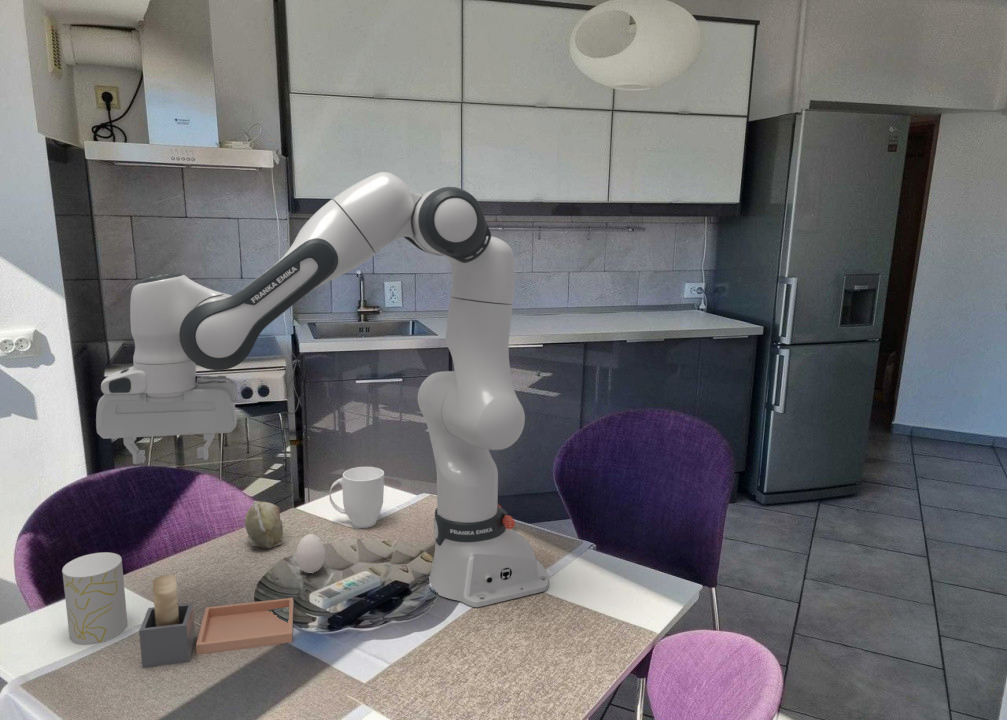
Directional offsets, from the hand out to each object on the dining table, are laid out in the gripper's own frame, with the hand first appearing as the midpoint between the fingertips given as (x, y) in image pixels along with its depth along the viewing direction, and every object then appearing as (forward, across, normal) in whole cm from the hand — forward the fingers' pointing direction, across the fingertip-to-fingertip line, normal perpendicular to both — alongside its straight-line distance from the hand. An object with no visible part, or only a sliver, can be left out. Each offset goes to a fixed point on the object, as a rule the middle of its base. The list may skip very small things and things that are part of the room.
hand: (171, 460), depth 115 cm
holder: (+27, 0, +12) cm, 30 cm away
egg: (+27, -21, -10) cm, 36 cm away
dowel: (+27, 0, +12) cm, 29 cm away
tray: (+27, -11, +8) cm, 30 cm away
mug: (+27, -31, -30) cm, 51 cm away
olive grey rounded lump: (+27, -12, -25) cm, 39 cm away
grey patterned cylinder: (+28, +12, +3) cm, 30 cm away
